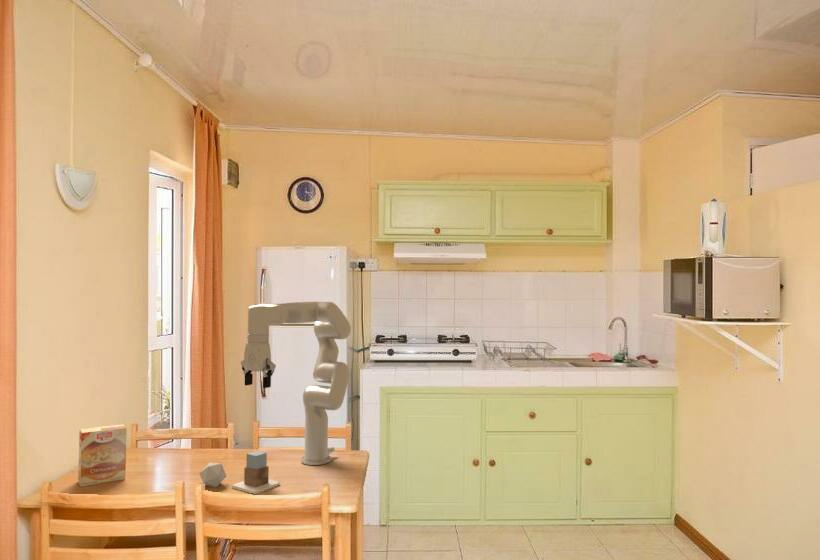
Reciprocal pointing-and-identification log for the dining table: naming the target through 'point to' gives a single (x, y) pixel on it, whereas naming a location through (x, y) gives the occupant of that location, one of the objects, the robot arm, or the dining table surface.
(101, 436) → the coffeecake box
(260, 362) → the robot arm
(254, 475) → the walnut block
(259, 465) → the blue block
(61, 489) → the dining table surface
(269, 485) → the plate
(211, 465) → the die
